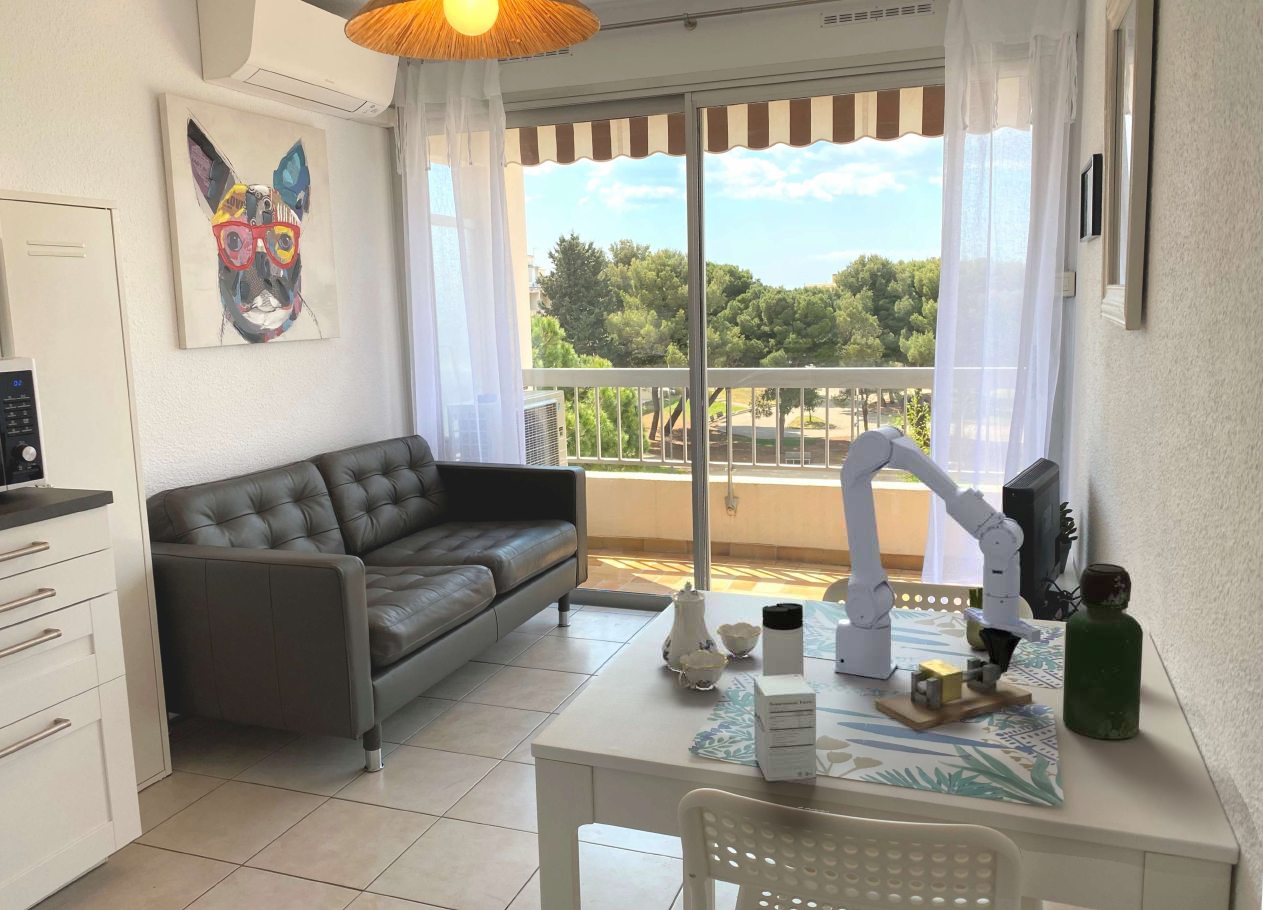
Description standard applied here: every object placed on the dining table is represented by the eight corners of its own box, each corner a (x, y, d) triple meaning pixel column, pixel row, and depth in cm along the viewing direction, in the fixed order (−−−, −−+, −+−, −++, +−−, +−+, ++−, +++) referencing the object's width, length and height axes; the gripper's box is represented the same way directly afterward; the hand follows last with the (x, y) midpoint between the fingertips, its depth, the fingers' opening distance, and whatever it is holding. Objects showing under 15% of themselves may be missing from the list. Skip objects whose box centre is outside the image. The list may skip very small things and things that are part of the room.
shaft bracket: (917, 730, 146) (918, 692, 145) (875, 707, 155) (875, 672, 154) (1031, 700, 156) (1032, 665, 155) (985, 680, 165) (986, 647, 164)
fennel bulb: (1003, 648, 181) (1004, 586, 180) (993, 655, 178) (994, 592, 176) (973, 642, 185) (974, 582, 183) (962, 649, 181) (963, 587, 180)
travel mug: (780, 739, 145) (779, 612, 142) (755, 724, 150) (753, 601, 148) (813, 730, 147) (812, 605, 145) (787, 715, 153) (786, 595, 150)
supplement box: (753, 758, 139) (752, 675, 137) (803, 755, 139) (803, 672, 137) (764, 782, 131) (763, 695, 130) (817, 778, 132) (817, 691, 130)
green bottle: (1049, 725, 147) (1053, 567, 143) (1084, 707, 153) (1090, 555, 149) (1116, 748, 138) (1123, 580, 135) (1151, 728, 144) (1158, 568, 141)
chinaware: (724, 710, 160) (732, 616, 157) (632, 689, 166) (638, 598, 163) (765, 655, 186) (773, 574, 183) (684, 639, 192) (690, 559, 189)
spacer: (942, 703, 151) (943, 675, 150) (917, 690, 156) (918, 663, 155) (961, 698, 153) (962, 670, 152) (936, 685, 158) (937, 658, 157)
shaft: (928, 701, 151) (928, 680, 150) (912, 694, 154) (913, 673, 154) (1001, 683, 157) (1001, 662, 157) (984, 676, 161) (985, 656, 160)
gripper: (950, 586, 162) (949, 663, 164) (1018, 607, 149) (1017, 690, 151) (980, 580, 165) (980, 655, 167) (1050, 600, 152) (1048, 681, 154)
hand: (999, 671), depth 159 cm, fingers closed, pressing on shaft
